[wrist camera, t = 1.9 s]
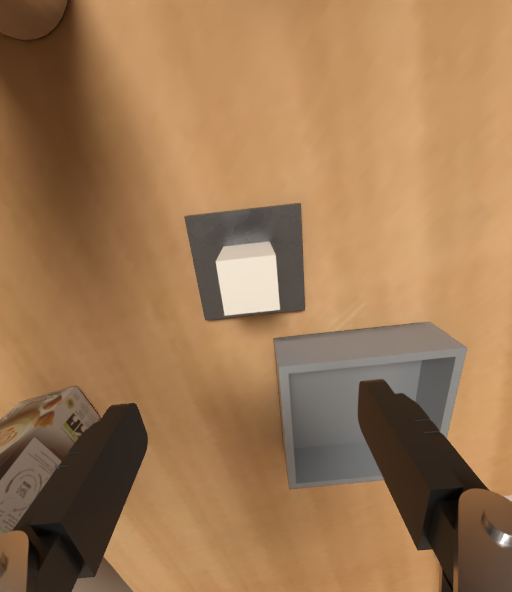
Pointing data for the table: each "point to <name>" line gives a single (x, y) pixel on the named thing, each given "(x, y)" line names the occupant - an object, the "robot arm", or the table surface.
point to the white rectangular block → (248, 278)
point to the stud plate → (245, 230)
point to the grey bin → (356, 393)
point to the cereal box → (37, 447)
